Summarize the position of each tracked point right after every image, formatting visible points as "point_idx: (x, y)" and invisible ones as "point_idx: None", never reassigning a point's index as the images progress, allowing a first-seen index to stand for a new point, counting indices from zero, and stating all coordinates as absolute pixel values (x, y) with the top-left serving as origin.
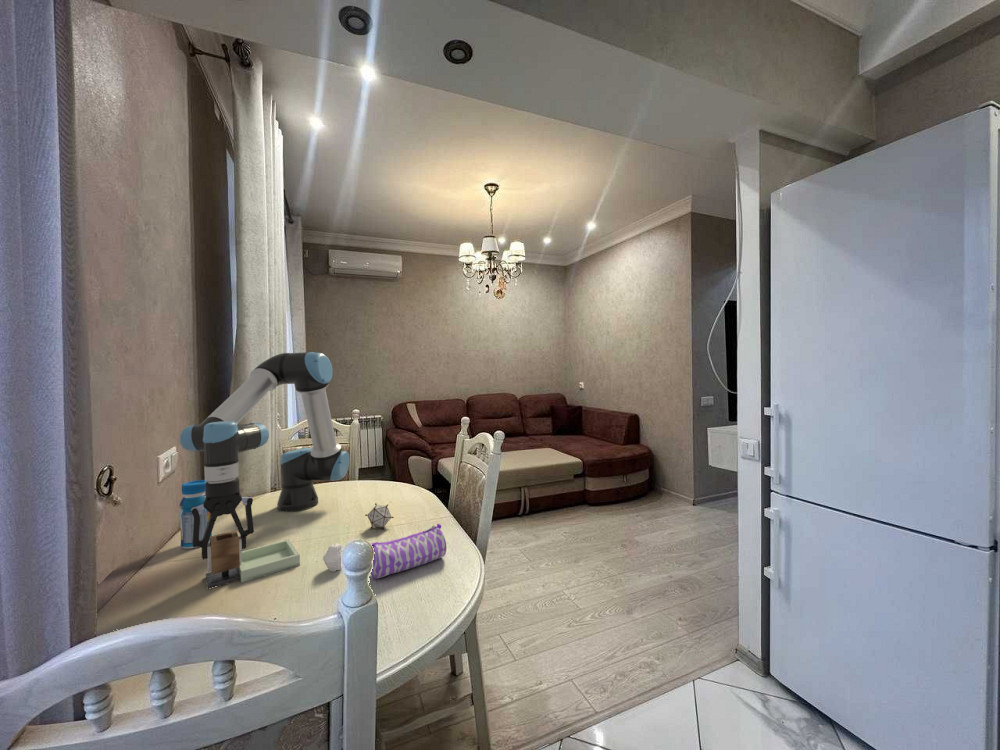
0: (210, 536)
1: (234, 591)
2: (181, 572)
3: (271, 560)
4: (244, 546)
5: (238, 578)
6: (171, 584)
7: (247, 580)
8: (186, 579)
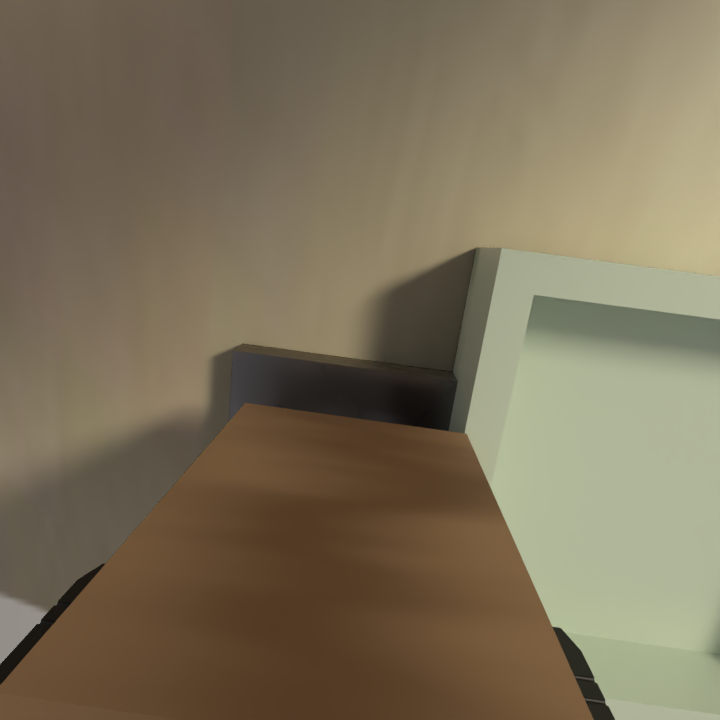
0: (12, 713)
1: None
2: (86, 44)
3: (687, 487)
4: None
5: None
6: (28, 262)
7: None
8: (121, 256)
